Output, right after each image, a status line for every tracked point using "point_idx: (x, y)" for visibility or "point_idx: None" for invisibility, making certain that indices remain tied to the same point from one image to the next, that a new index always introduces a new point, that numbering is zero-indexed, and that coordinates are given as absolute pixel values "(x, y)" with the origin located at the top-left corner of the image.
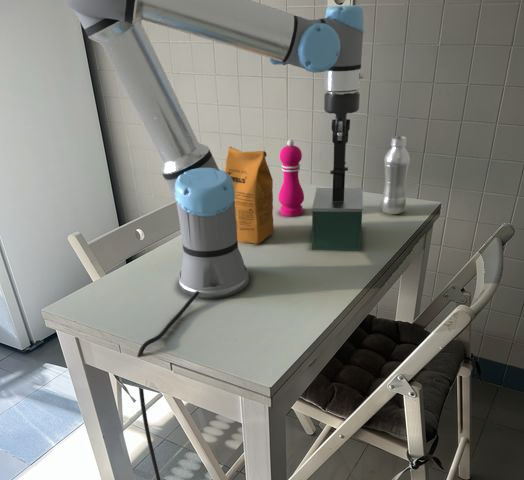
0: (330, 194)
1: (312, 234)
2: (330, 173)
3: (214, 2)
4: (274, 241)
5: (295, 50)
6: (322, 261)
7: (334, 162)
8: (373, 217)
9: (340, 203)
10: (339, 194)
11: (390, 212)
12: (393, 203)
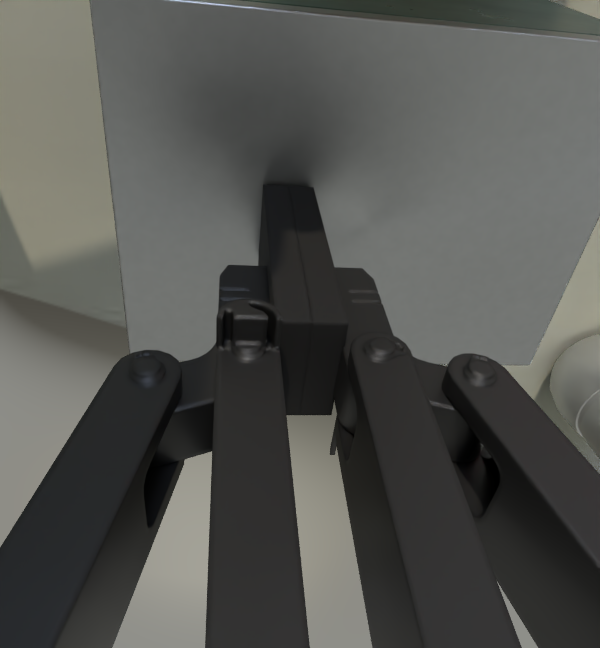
0: (457, 169)
1: None
2: (224, 305)
3: None
4: None
5: None
6: (2, 22)
7: (50, 477)
8: (564, 292)
9: (232, 238)
10: (262, 262)
11: (558, 361)
12: (570, 396)
